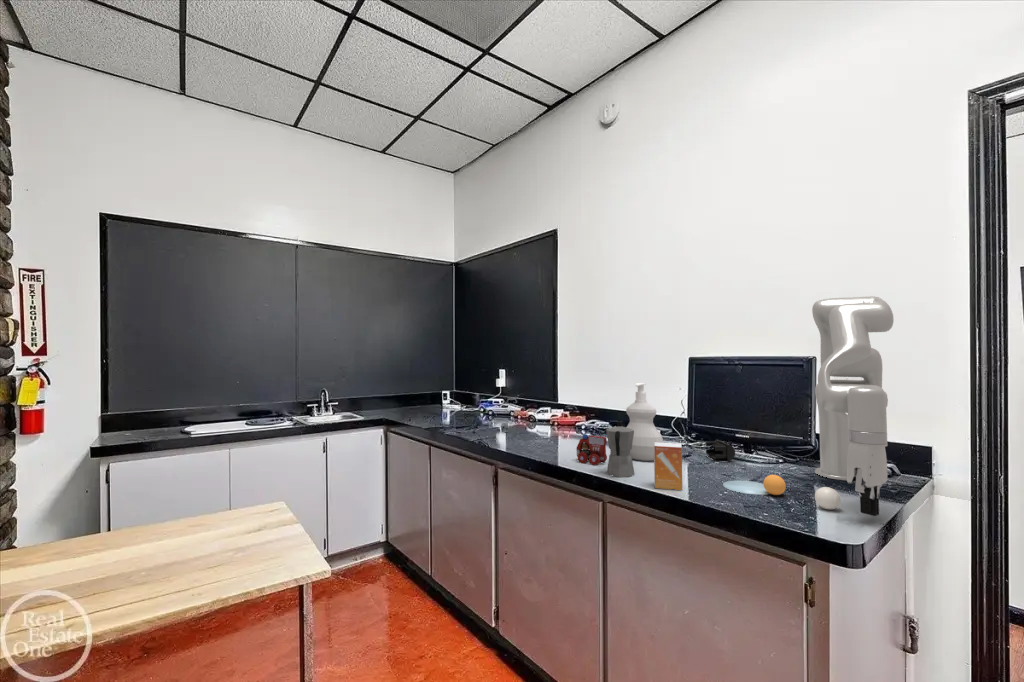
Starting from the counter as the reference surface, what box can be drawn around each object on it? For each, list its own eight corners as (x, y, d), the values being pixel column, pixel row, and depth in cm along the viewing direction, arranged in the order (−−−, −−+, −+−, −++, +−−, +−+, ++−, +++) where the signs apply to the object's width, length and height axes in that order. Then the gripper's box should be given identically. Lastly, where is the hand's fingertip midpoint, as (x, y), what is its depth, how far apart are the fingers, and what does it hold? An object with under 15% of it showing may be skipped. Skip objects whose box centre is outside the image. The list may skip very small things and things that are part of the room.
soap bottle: (615, 458, 177) (614, 383, 177) (627, 453, 186) (626, 381, 186) (657, 464, 166) (656, 384, 167) (668, 459, 175) (667, 382, 176)
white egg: (822, 504, 122) (821, 483, 122) (845, 510, 117) (844, 488, 117) (810, 507, 119) (810, 486, 119) (834, 514, 114) (833, 491, 115)
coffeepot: (609, 468, 162) (608, 417, 163) (636, 470, 159) (635, 418, 160) (602, 479, 148) (602, 424, 148) (632, 482, 144) (631, 425, 145)
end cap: (735, 462, 169) (735, 444, 169) (716, 462, 169) (716, 444, 169) (723, 456, 179) (723, 439, 179) (705, 456, 179) (705, 439, 179)
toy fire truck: (582, 458, 178) (582, 431, 178) (611, 463, 170) (610, 435, 170) (572, 461, 172) (572, 434, 173) (601, 467, 164) (601, 438, 165)
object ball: (770, 490, 134) (770, 471, 134) (790, 495, 129) (789, 476, 129) (759, 493, 132) (758, 474, 132) (778, 498, 127) (778, 478, 127)
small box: (654, 488, 137) (653, 445, 138) (654, 483, 143) (653, 441, 144) (683, 491, 135) (682, 447, 135) (681, 485, 141) (681, 442, 141)
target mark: (741, 478, 147) (741, 478, 147) (785, 490, 135) (785, 489, 135) (713, 485, 140) (713, 484, 140) (756, 497, 128) (756, 496, 128)
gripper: (864, 432, 118) (866, 504, 117) (834, 438, 110) (836, 514, 110) (900, 437, 111) (902, 513, 110) (870, 443, 104) (873, 524, 103)
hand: (869, 513), depth 110 cm, fingers closed
